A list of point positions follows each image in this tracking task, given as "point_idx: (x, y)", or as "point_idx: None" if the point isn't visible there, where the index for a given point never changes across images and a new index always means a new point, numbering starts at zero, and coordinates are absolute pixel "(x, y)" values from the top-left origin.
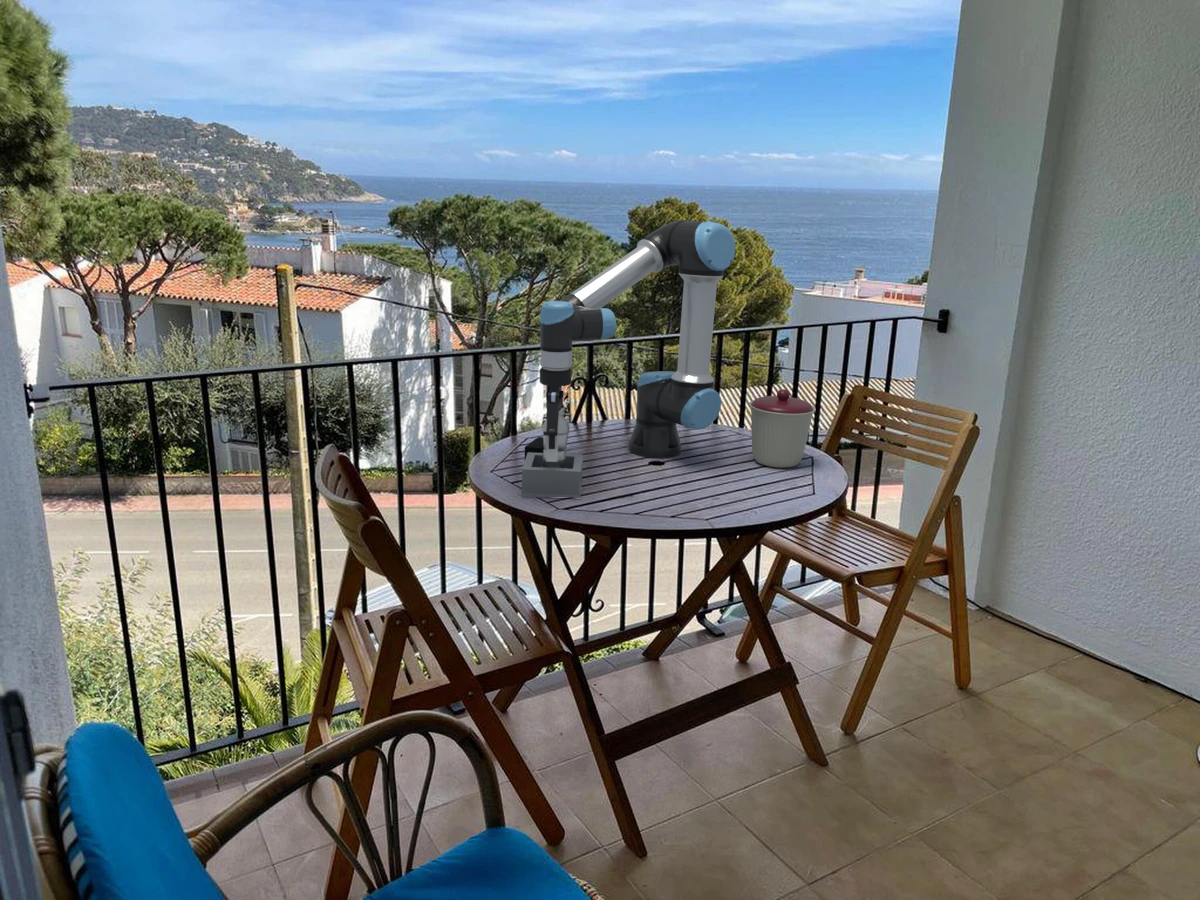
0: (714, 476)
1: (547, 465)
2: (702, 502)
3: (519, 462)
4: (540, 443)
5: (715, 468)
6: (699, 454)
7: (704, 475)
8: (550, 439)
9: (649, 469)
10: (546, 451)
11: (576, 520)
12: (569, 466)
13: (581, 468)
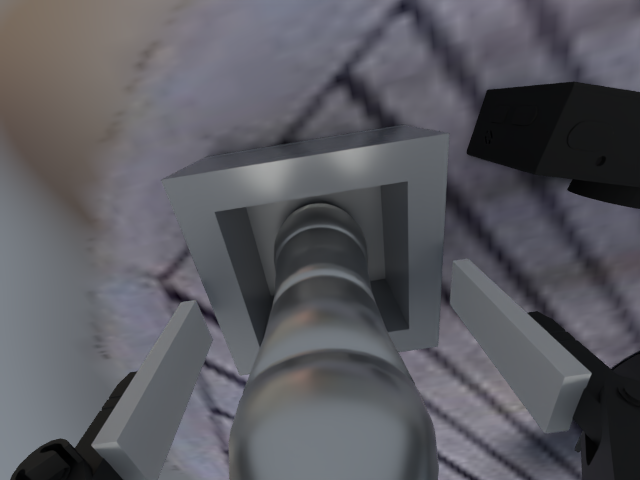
0: (464, 473)
1: (277, 264)
2: None
3: (609, 33)
4: (622, 155)
5: (512, 470)
6: None
7: (469, 462)
8: (88, 443)
9: (507, 393)
10: (157, 341)
11: (110, 329)
12: (396, 290)
13: None
